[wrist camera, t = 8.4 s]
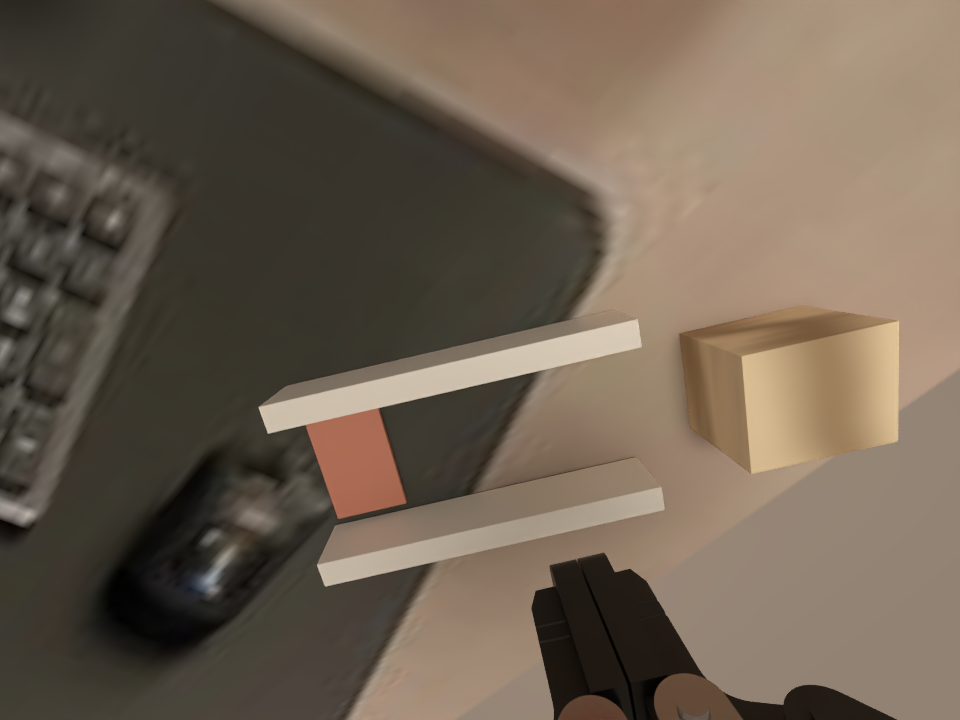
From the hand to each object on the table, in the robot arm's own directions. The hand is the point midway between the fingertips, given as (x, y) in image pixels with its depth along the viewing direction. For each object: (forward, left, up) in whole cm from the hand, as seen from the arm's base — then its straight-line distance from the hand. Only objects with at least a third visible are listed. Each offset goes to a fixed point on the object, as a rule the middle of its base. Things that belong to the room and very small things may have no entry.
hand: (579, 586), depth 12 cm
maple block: (+11, +1, -11) cm, 16 cm away
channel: (-3, 0, -11) cm, 11 cm away
